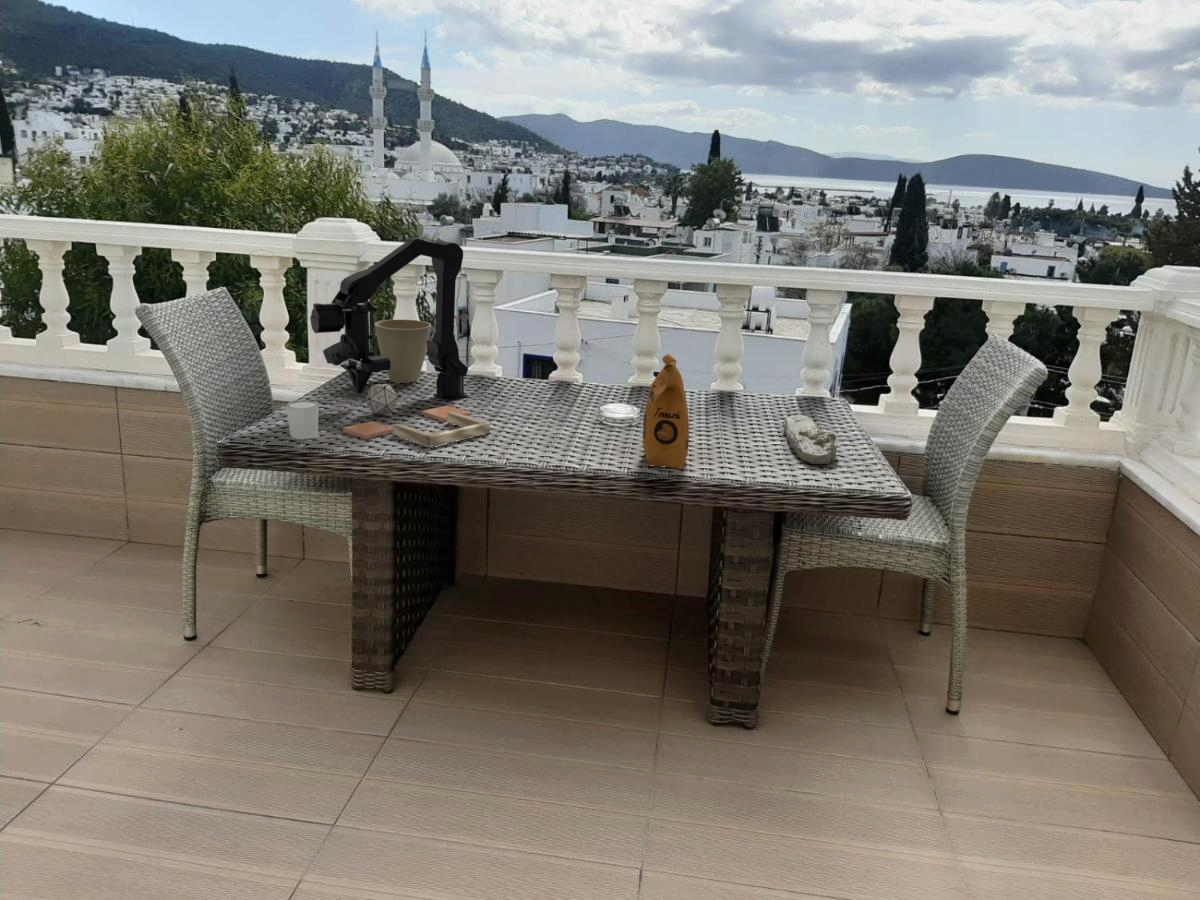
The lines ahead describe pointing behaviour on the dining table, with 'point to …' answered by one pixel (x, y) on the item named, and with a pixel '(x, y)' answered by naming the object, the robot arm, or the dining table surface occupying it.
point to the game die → (381, 398)
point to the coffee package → (666, 419)
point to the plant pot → (403, 347)
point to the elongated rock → (809, 440)
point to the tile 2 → (442, 412)
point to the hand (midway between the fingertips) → (359, 393)
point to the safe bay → (468, 430)
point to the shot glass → (303, 419)
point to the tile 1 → (368, 430)
